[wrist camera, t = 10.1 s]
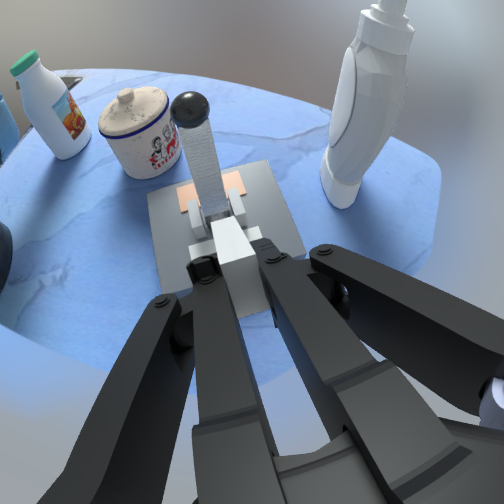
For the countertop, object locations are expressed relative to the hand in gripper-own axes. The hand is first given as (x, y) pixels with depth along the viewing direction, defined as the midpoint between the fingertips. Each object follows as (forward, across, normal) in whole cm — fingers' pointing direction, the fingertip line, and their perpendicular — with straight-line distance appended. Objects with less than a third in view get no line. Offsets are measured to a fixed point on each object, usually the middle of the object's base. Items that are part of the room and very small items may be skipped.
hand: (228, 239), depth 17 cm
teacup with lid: (+24, -6, +8) cm, 26 cm away
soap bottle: (+16, +15, -1) cm, 21 cm away
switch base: (+13, 0, -4) cm, 13 cm away
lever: (+10, 0, -1) cm, 10 cm away
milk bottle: (+31, -21, +14) cm, 40 cm away
